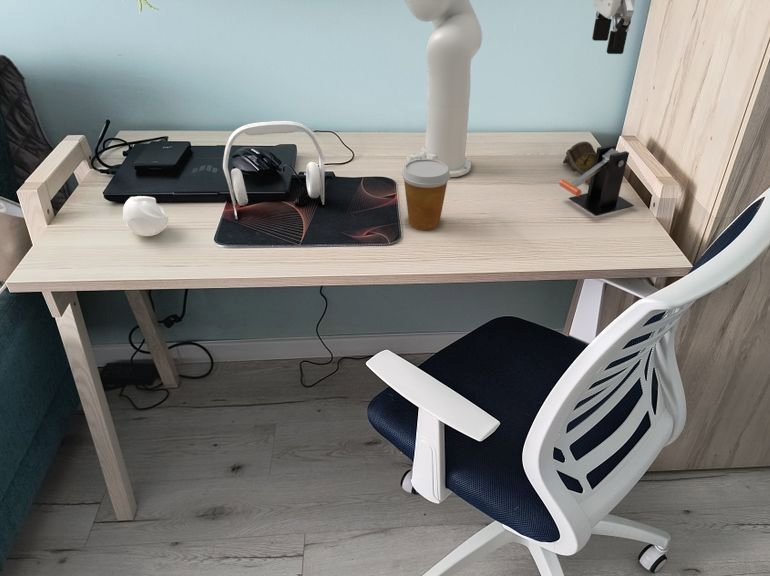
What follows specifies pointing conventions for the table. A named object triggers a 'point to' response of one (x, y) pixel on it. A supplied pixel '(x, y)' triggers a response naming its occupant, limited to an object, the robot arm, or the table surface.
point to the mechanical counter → (581, 158)
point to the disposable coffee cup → (425, 191)
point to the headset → (312, 171)
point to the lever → (587, 174)
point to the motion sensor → (144, 216)
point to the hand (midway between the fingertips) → (606, 46)
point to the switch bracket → (605, 185)
